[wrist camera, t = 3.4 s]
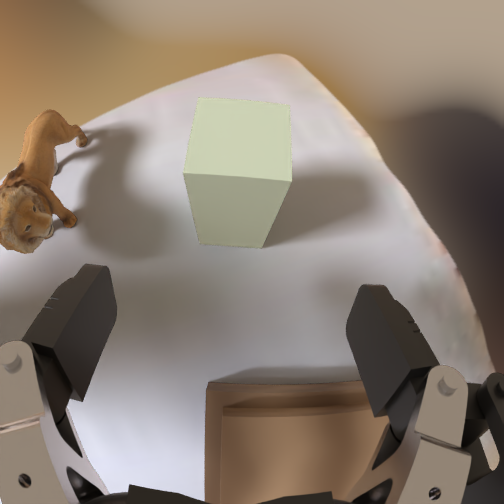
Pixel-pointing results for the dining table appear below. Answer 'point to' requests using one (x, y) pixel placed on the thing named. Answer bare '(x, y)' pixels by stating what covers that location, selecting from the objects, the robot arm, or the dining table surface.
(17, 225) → the lion figurine
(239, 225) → the sage block
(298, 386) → the walnut plinth
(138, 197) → the dining table surface
